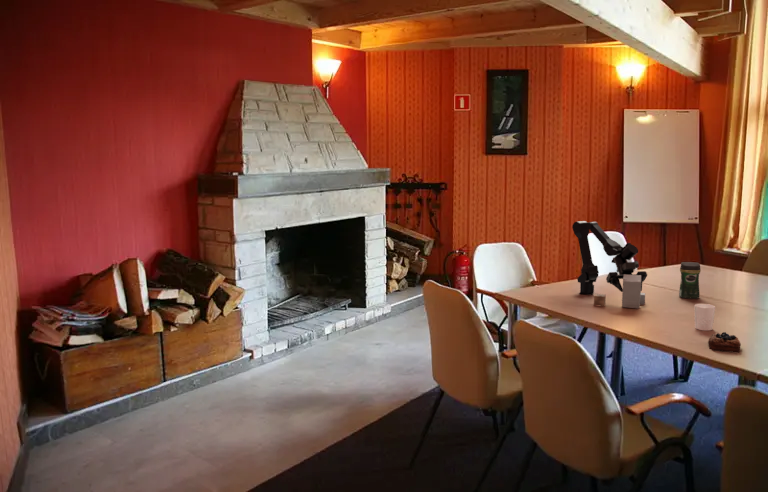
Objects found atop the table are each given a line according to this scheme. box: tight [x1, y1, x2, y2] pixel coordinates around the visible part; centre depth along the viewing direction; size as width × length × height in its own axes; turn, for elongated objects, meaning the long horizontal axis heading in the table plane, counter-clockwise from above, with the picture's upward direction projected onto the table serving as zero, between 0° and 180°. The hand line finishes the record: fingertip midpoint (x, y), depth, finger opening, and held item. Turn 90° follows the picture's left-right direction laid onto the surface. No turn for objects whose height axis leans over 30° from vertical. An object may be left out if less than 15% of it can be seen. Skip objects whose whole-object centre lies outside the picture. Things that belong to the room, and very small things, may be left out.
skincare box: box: [621, 274, 642, 309], centre depth 303 cm, size 8×7×16 cm
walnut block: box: [593, 293, 606, 307], centre depth 312 cm, size 5×5×5 cm
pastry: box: [707, 331, 742, 353], centre depth 242 cm, size 11×12×6 cm
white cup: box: [693, 303, 716, 332], centre depth 267 cm, size 8×8×10 cm
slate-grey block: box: [640, 292, 646, 306], centre depth 314 cm, size 5×5×5 cm
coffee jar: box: [678, 261, 702, 300], centre depth 323 cm, size 10×8×19 cm
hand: (631, 291), depth 304 cm, fingers closed on skincare box, 9 cm apart
